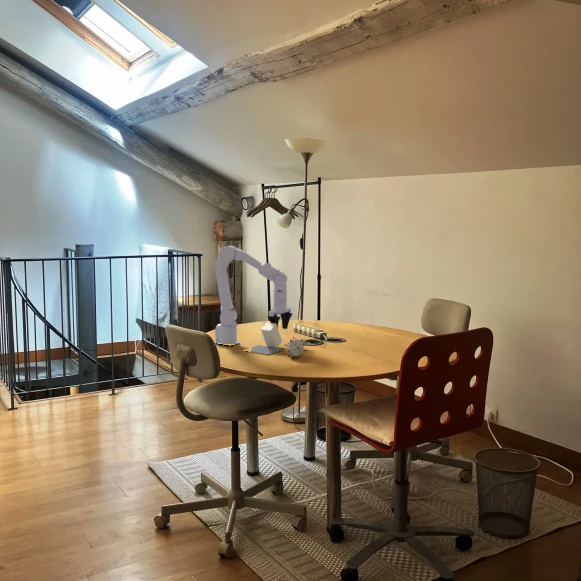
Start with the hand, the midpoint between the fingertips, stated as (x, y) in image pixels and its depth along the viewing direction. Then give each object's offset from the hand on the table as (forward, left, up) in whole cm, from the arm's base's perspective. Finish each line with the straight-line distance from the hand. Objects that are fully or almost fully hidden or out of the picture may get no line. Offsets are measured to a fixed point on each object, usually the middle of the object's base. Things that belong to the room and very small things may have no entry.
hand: (280, 330), depth 273 cm
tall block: (0, -4, -6) cm, 7 cm away
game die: (+18, -14, -7) cm, 24 cm away
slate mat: (0, -12, -7) cm, 14 cm away
